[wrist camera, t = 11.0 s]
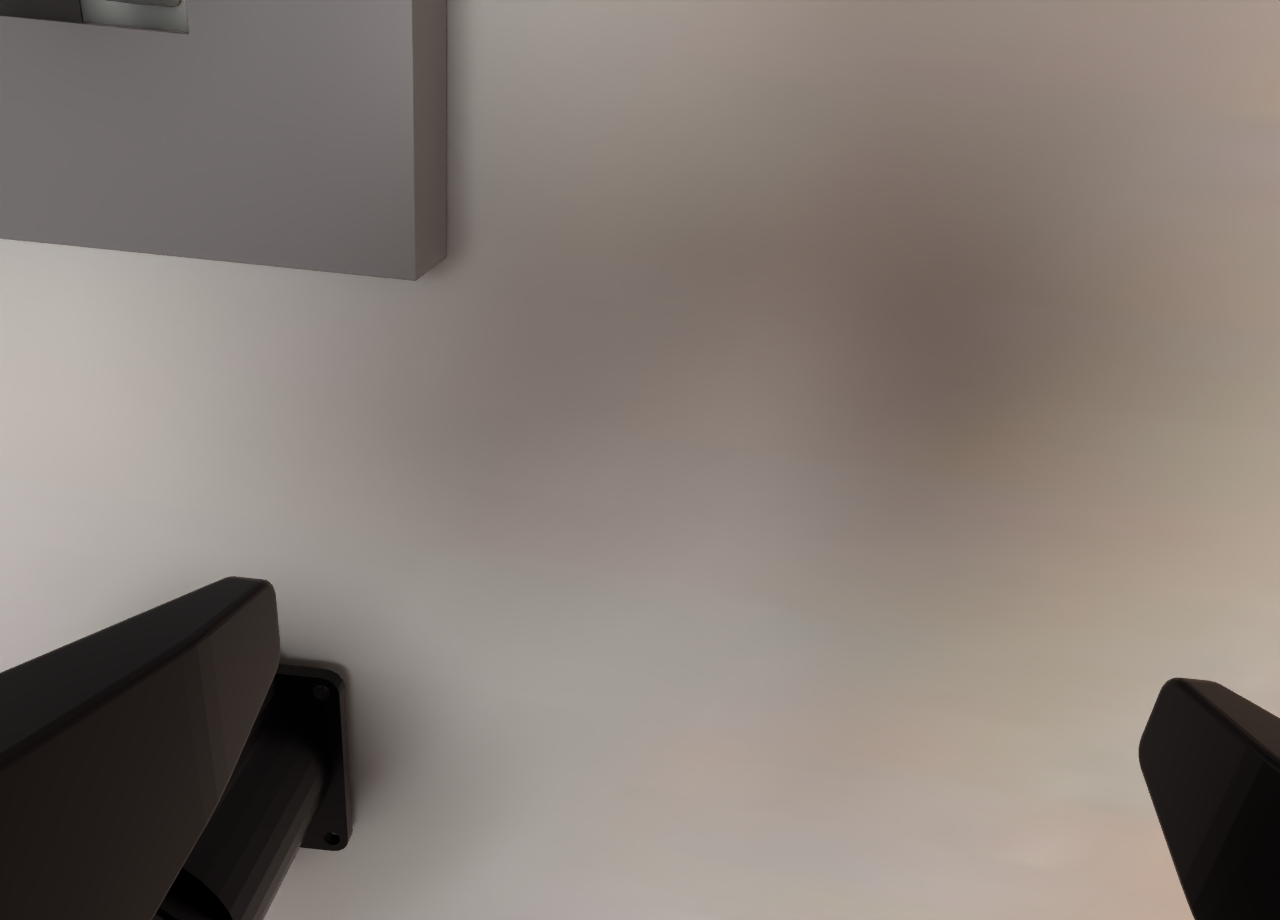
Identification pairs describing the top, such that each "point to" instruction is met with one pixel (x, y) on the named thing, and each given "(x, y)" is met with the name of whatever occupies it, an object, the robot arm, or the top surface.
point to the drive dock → (231, 133)
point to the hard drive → (152, 2)
